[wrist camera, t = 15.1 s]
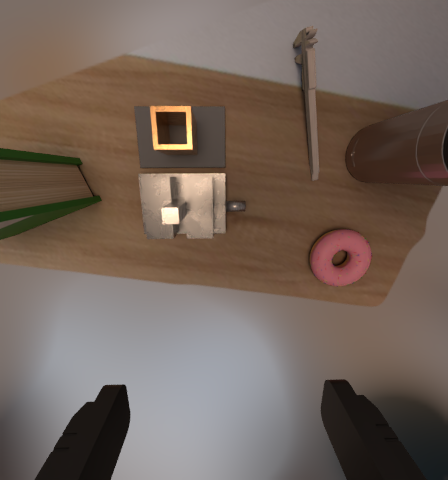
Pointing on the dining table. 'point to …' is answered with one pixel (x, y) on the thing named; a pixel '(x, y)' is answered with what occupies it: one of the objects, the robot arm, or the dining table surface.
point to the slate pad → (184, 140)
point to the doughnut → (332, 244)
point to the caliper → (309, 92)
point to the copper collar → (173, 116)
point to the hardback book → (39, 190)
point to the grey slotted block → (184, 205)
